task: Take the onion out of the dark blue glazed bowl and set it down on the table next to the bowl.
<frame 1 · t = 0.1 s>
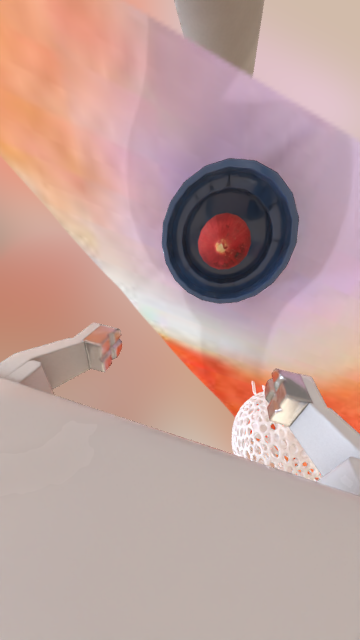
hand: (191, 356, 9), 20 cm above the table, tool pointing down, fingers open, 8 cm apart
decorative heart: (275, 390, 35), on the table
onion: (224, 239, 24), resting on bowl
bowl: (224, 239, 24), on the table
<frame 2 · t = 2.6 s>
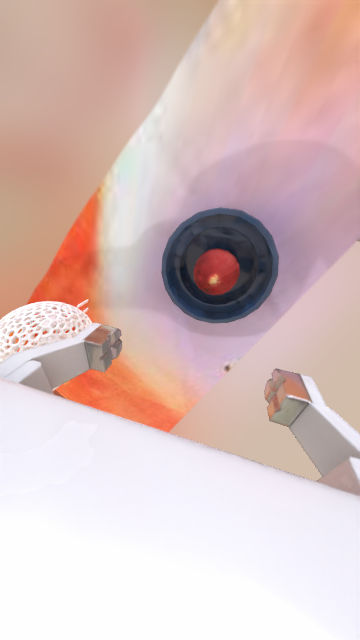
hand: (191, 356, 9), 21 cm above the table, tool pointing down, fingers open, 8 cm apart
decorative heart: (87, 318, 39), on the table
onion: (217, 265, 27), resting on bowl
bowl: (217, 265, 27), on the table
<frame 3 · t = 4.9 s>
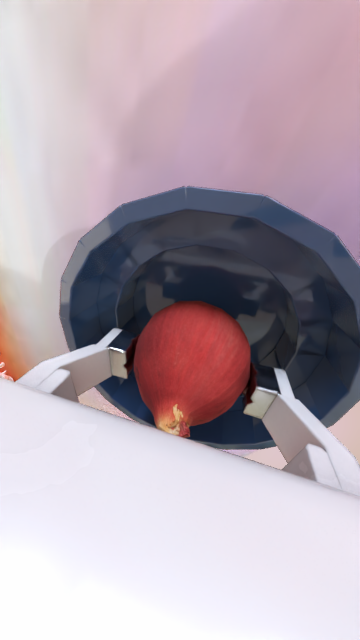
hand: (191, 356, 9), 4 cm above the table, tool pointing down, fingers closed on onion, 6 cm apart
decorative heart: (9, 374, 25), on the table
onion: (203, 320, 13), resting on bowl, touching gripper
bowl: (203, 318, 13), on the table
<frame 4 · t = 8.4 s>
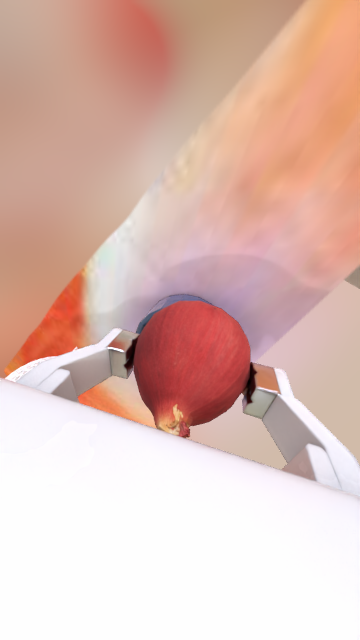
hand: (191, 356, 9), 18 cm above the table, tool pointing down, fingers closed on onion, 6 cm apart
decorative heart: (77, 361, 43), on the table
onion: (202, 320, 13), point 14 cm above the table, touching gripper
bowl: (186, 332, 31), on the table
when the fingers open (4 cm above the table, at t = 12.3 s): onion stays where it is, on the table.
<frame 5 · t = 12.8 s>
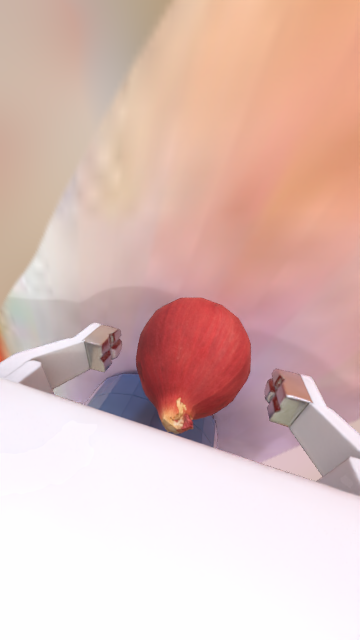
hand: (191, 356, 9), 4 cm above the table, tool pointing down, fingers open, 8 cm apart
onion: (203, 317, 13), on the table
bowl: (154, 416, 21), on the table
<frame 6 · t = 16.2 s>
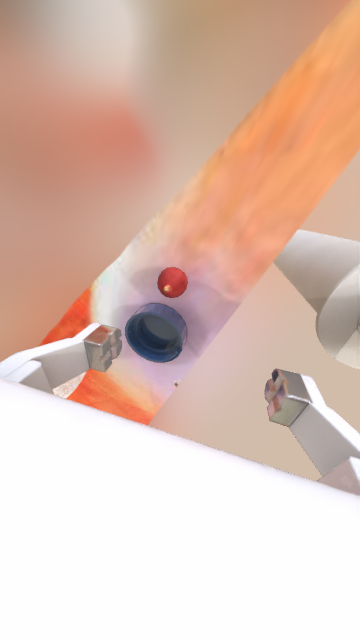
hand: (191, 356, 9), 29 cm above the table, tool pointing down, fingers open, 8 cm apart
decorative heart: (85, 350, 58), on the table
onion: (177, 277, 38), on the table
bowl: (160, 328, 46), on the table
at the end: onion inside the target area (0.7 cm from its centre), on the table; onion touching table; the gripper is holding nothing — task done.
